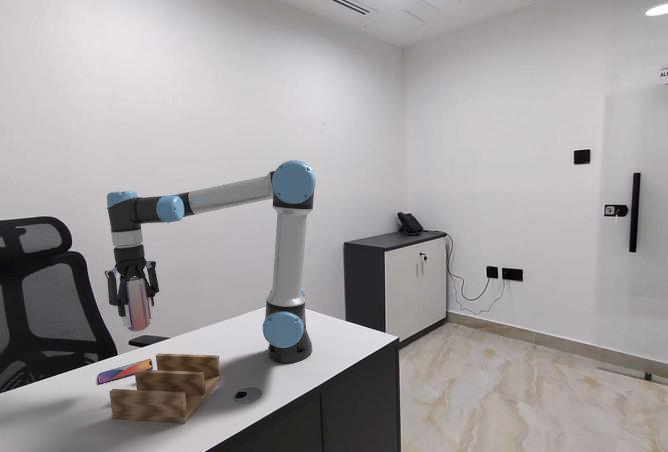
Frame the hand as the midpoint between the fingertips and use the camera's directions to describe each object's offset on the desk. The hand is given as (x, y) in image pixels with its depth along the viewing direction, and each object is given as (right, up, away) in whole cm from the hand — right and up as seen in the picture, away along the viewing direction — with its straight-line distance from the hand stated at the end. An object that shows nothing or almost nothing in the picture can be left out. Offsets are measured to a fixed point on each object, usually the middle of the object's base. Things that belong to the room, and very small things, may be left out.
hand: (138, 321), depth 103 cm
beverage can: (0, -2, 0) cm, 2 cm away
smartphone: (-9, -19, +9) cm, 23 cm away
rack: (+12, -20, -5) cm, 24 cm away
